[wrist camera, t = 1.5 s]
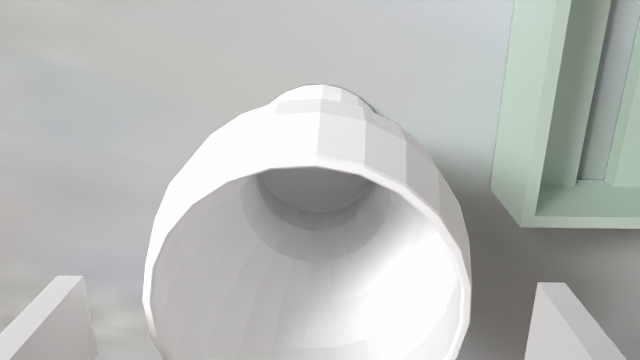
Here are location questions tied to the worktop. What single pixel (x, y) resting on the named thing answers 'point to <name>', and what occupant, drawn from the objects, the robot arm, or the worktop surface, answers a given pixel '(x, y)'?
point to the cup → (309, 241)
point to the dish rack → (563, 121)
